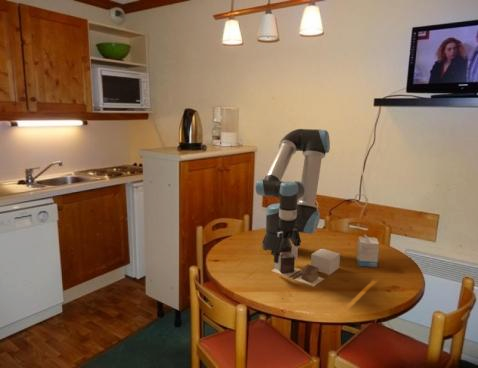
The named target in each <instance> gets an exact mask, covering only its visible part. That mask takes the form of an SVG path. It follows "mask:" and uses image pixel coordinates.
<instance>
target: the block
mask: <svg viewBox="0 0 478 368" xmlns="http://www.w3.org/2000/svg"><path fill="white" fill-rule="evenodd" d="M301 271H302V272H301V279H302V280H305V281H308V282H310V283H313V282H314V281H315V280H317V279H318V277H319V271H318V267H315V266H312V265H311V264H309V263H308V264H306V265H305V266H302V268H301Z"/></svg>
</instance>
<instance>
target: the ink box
mask: <svg viewBox="0 0 478 368" xmlns="http://www.w3.org/2000/svg"><path fill="white" fill-rule="evenodd" d="M357 239H358V240H357V252H356V260H357V264H358V266H359V267H371V268H378V263H379V253H380V252H379V249H380V242H379V240H378V238H377V237H373V236H372V237H371V236H370V237H369V236H368V235H366V234H365V233H364V236H358V238H357Z"/></svg>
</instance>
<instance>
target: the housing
mask: <svg viewBox="0 0 478 368" xmlns="http://www.w3.org/2000/svg"><path fill="white" fill-rule="evenodd" d="M340 259H341V253H340V252H339V253H338V252H335V251H332V250H329V249H325V248H320V249H318V250H316V251H314V252H312V253H311V255H310V265H312V266H315V267H318V273H322V274H324V275H325V274H326V275H329V276H330V275H332V274H333V273H334V272H336V271H337V270H338V269H340Z"/></svg>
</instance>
